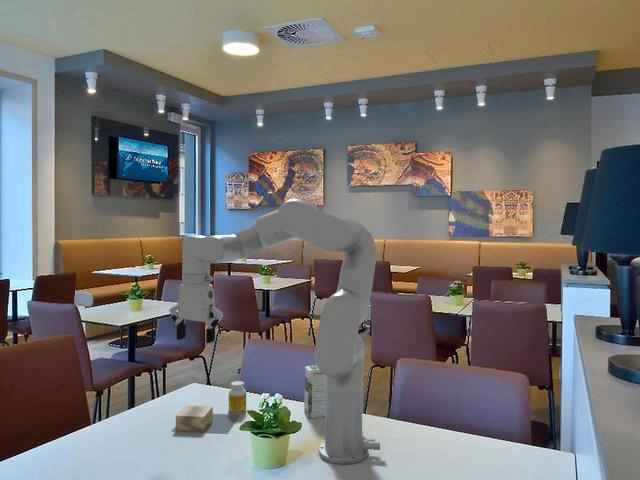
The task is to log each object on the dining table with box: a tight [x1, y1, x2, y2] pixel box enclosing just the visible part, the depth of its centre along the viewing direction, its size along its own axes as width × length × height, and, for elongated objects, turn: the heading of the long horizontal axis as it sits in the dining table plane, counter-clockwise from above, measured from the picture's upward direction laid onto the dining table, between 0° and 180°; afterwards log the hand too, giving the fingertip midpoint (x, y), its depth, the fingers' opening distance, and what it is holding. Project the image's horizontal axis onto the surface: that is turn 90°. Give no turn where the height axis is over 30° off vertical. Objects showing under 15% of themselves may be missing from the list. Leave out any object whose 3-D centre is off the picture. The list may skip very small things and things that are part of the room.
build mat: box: [171, 413, 241, 435], centre depth 146 cm, size 16×14×1 cm
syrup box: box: [303, 365, 326, 419], centre depth 156 cm, size 6×6×14 cm
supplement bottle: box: [228, 380, 247, 414], centre depth 156 cm, size 5×5×10 cm
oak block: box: [175, 405, 214, 431], centre depth 144 cm, size 8×8×4 cm
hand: (195, 340), depth 142 cm, fingers open, 9 cm apart
